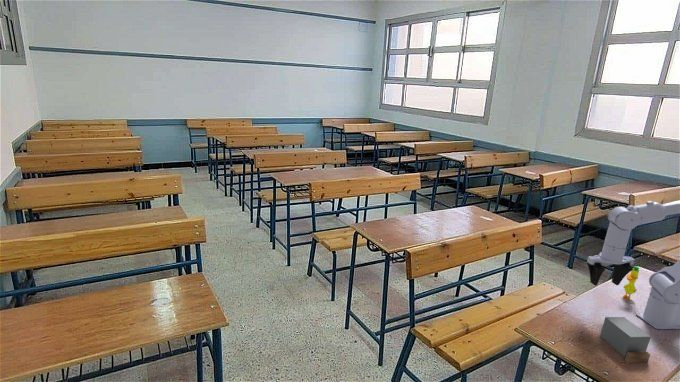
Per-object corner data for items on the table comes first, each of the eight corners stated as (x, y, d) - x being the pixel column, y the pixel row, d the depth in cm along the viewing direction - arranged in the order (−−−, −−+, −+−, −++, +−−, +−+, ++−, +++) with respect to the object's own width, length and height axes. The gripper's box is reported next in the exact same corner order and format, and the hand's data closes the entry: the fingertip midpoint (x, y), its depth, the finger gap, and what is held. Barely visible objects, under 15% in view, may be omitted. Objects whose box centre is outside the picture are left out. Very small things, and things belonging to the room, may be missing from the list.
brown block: (644, 359, 104) (647, 351, 103) (647, 362, 103) (650, 354, 102) (624, 360, 103) (627, 352, 103) (627, 362, 102) (630, 354, 102)
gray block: (618, 335, 114) (623, 316, 112) (644, 356, 105) (650, 336, 103) (599, 335, 113) (605, 317, 111) (624, 356, 104) (630, 337, 103)
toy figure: (627, 302, 132) (636, 271, 129) (616, 297, 135) (624, 266, 132) (636, 297, 136) (645, 267, 132) (625, 293, 139) (634, 263, 135)
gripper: (625, 240, 124) (614, 277, 128) (584, 239, 122) (575, 277, 126) (644, 249, 117) (632, 288, 121) (601, 249, 116) (590, 288, 119)
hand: (604, 283), depth 123 cm, fingers open, 7 cm apart
